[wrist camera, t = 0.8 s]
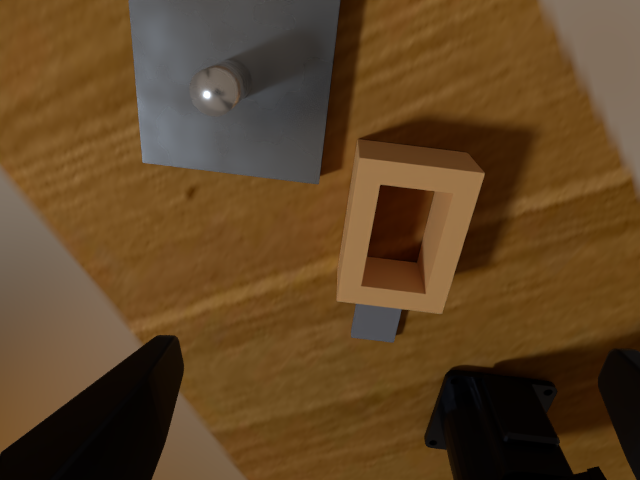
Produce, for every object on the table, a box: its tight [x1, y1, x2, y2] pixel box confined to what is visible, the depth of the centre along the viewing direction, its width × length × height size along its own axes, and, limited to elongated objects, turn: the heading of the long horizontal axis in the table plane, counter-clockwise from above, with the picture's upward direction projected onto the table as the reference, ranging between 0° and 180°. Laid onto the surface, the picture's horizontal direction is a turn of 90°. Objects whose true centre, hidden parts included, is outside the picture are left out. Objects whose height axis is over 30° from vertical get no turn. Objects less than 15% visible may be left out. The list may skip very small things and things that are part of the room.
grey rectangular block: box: [351, 304, 402, 342], centre depth 24 cm, size 4×2×1 cm, turn 174°
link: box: [337, 139, 485, 314], centre depth 20 cm, size 7×5×3 cm
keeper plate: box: [129, 0, 340, 184], centre depth 17 cm, size 8×8×4 cm
